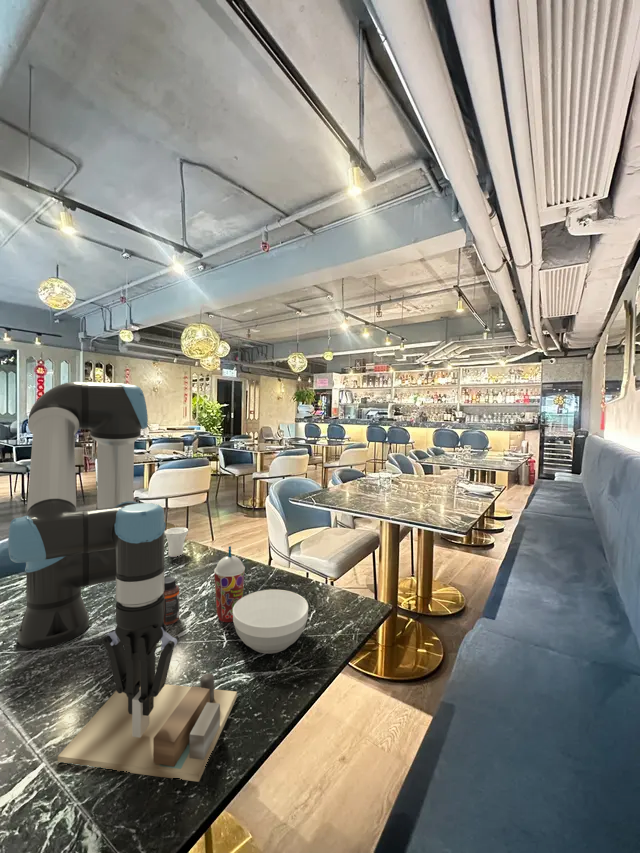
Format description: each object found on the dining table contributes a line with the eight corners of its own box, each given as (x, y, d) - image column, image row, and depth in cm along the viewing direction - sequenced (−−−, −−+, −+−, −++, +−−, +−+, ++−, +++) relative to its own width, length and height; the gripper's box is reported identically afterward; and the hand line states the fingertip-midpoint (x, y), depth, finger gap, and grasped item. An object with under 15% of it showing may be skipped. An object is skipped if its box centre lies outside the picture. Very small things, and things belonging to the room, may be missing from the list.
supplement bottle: (184, 618, 108) (184, 577, 107) (167, 628, 102) (167, 586, 102) (168, 612, 110) (168, 573, 110) (151, 623, 105) (151, 582, 104)
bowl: (316, 657, 92) (317, 620, 91) (235, 671, 86) (235, 632, 86) (298, 616, 110) (298, 585, 109) (229, 625, 104) (230, 593, 104)
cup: (159, 558, 150) (159, 532, 150) (172, 549, 160) (172, 525, 159) (180, 560, 149) (180, 534, 149) (192, 551, 158) (192, 527, 158)
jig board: (57, 763, 63) (57, 730, 63) (125, 685, 81) (125, 659, 81) (198, 781, 60) (199, 747, 60) (236, 697, 78) (237, 670, 78)
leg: (192, 706, 74) (192, 686, 74) (209, 709, 73) (209, 689, 73) (153, 762, 62) (153, 738, 62) (174, 766, 61) (174, 742, 61)
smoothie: (237, 627, 103) (237, 553, 103) (208, 623, 105) (208, 550, 104) (249, 611, 112) (249, 542, 111) (222, 608, 113) (222, 540, 113)
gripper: (187, 589, 69) (186, 717, 70) (118, 584, 70) (119, 710, 71) (166, 611, 62) (165, 754, 63) (89, 605, 63) (90, 744, 64)
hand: (141, 730), depth 67 cm, fingers closed
